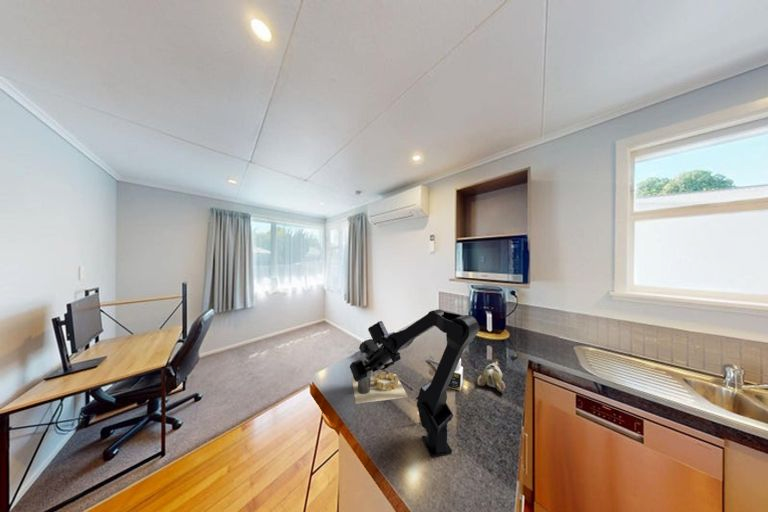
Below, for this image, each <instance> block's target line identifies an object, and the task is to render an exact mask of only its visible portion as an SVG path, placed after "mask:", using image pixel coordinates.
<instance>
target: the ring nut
mask: <svg viewBox="0 0 768 512" xmlns="http://www.w3.org/2000/svg"><path fill="white" fill-rule="evenodd" d="M394 374H395V373H393V372H390V371H389V372H388V373H387V372H386V371H380V373H376V374H375V375H373V376H374V381H373V384H374V387H377V389H378V390H380V391H382V390H383V383H382V382H379V377H380V376H381V377H380V378H381V379H386V375H388V379H389V380H392V381H393V380H394V381H393V382H392V389H396V388H397V384H398V379H399V377H398V376H397V375H396V376H394ZM385 390H386V391H391V383H385Z"/></svg>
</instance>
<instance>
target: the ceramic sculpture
mask: <svg viewBox="0 0 768 512" xmlns="http://www.w3.org/2000/svg"><path fill="white" fill-rule="evenodd" d="M503 376H504V373H502V370H501V369H500V367H499V366H498V365H497V364H496V362H492V363H489V364H488V365H487V366H486V367H485V368H484V370H483V373H482V374H480V375H478V377H477V381H476V382H477V385H478V386H482V387H484V386H485V385H486V386H488V387H491V388H495V389H496V390H497V391H498V392H501V393H502V394H503V393H504V392H505V391H506V387H507V386H506V383H505V382H504V381H503Z"/></svg>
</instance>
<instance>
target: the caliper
mask: <svg viewBox="0 0 768 512" xmlns="http://www.w3.org/2000/svg"><path fill="white" fill-rule="evenodd" d="M426 361H427V362H428V363H430V364H433V365H436V366H438V365H439V362H440V361H437V360H435V359H432V358H427V359H426Z"/></svg>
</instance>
